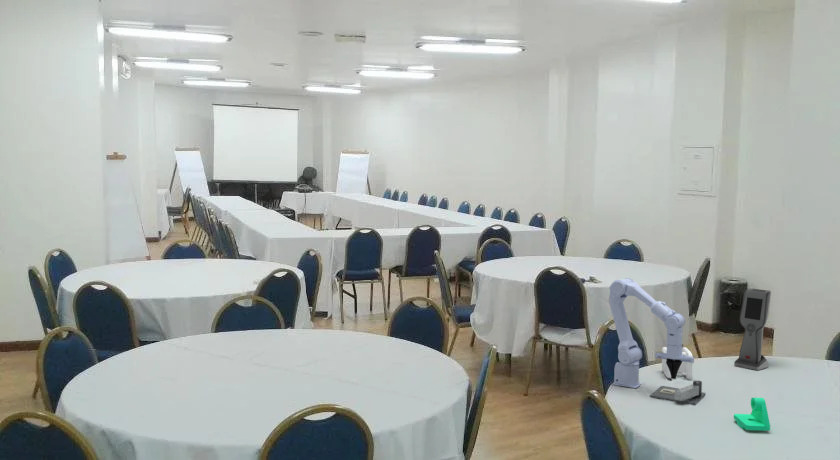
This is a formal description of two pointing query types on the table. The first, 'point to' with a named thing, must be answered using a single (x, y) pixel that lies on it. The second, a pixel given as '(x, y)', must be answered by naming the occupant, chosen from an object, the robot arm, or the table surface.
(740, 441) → the table surface
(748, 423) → the camera mount
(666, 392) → the label
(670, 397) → the lid
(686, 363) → the cable organizer
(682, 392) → the bar
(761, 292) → the thermal camera
